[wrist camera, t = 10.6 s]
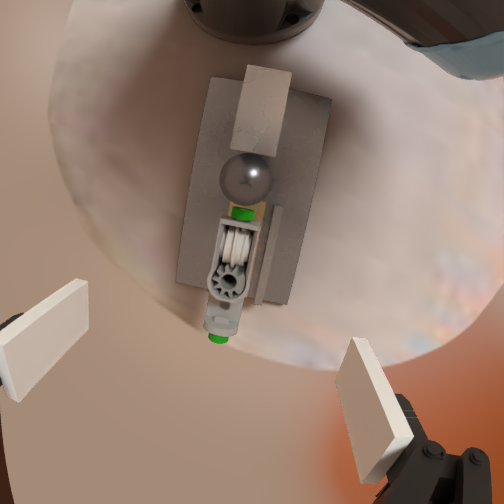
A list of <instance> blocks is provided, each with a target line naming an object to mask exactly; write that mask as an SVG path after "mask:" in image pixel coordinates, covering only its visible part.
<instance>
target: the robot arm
mask: <svg viewBox="0 0 504 504" xmlns="http://www.w3.org/2000/svg"><path fill="white" fill-rule="evenodd" d="M341 1H343V2H345V3H346V4H348V5H350V6H352V7H353V8H355V9H357V10H358V11H360V12H362V13H363V14H365V15H367V16H368V17H370V18H371V19H373V20H374V21H376V22H377V23H379V24H380V25H382V26H383V27H385V28H386V29H388V30H389V31H391V32H392V33H393V34H395V35H396V36H398V37H399V38H400V39H402V40H403V42H404V43H405V45H407V46H408V47H409V48H411V49H413V50H415V51H418V52H421V53H422V54H424V55H425V56H426V57H428V58H429V59H430V60H432V61H433V62H434V63H436V64H437V65H438V66H439V67H441V68H442V69H443V70H445V71H446V72H447V73H449V74H451V75H453V76H455V77H458V78H461V79H467V80H473V79H474V80H479V81H480V80H489V79H494V78H498V77H501V76H504V0H341ZM184 3H185V5H186V7H187V9H188V11H189V13H190V15H191V17H192V18H193V20H194V21H195V22H196V23H197V24H198V25H199V26H200V27H201V28H202V29H203V30H205V31H206V32H208V33H209V34H211V35H213V36H215V37H217V38H220V39H222V40H225V41H229V42H233V43H239V44H250V45H258V44H268V43H274V42H278V41H282V40H285V39H288V38H290V37H293V36H295V35H297V34H299V33H300V32H302V31H303V30H305V29H306V28H307V27H309V26H310V25H311V24H312V23H313V22H314V20H315V19H316V18H317V17H318V15H319V13H320V11H321V9H322V6H323V3H324V0H184ZM88 330H89V309H88V282H87V281H84V280H80V279H77V278H75V279H74V280H72V281H71V282H69V283H68V284H66V285H65V286H64V287H62V288H61V289H59V290H57V291H56V292H55V293H53V294H52V295H50V296H49V297H47V298H46V299H44V300H43V301H41V302H40V303H39V304H37V305H36V306H34V307H33V308H31V309H30V310H29V311H27V312H26V313H20V314H17V315H14V316H12V317H11V318H10V319H8V320H7V321H6V322H4V323H2V324H1V325H0V386H1V385H3V388H4V391H5V394H6V396H8V397H10V398H11V399H13V400H15V401H16V402H18V403H20V401H21V400H22V399H23V398H24V397H25V396H26V395H27V394H28V393H29V391H30V390H31V389H32V388H33V387H34V386H35V385H36V384H37V383H38V382H39V380H40V379H41V378H42V377H43V376H44V375H45V374H46V373H47V372H48V371H49V370H50V369H51V368H52V367H53V365H55V363H56V362H57V361H58V360H59V359H60V358H61V357H62V356H63V355H64V354H65V353H66V352H67V351H68V350H69V349H70V348H71V347H72V346H73V345H74V344H75V343H76V342H77V341H78V340H79V339H80V338H81V337H82V335H84V333H86V332H87V331H88ZM335 384H336V388H337V392H338V395H339V399H340V403H341V407H342V410H343V414H344V418H345V422H346V426H347V430H348V433H349V438H350V442H351V445H352V450H353V454H354V458H355V462H356V466H357V470H358V475H359V478H360V483H361V484H369V483H379V482H380V481H381V479H382V478H383V477H384V476H385V475H387V478H388V483H387V484H386V485H385V486H384V487H383V489H382V490H381V491H380V492H379V493H378V494H377V495H376V497H377V498H376V500H375V501H374V502H373V504H492V487H491V472H490V461H489V458H488V456H487V455H486V453H485V452H484V451H482V450H481V449H478V448H474V447H471V448H468V449H467V450H465V452H464V453H463V454H462V455H461V456H457V455H451V454H446V451H445V449H444V448H443V447H442V446H441V445H440V444H438V443H437V442H435V441H431V440H428V438H427V436H426V434H425V432H424V430H423V428H422V426H421V424H420V422H419V420H418V418H417V416H416V414H415V412H413V408H412V406H411V404H410V402H409V401H408V400H407V399H406V398H405V397H404V396H403V395H402V394H394V393H393V390H392V388H391V387H390V385H389V382H388V380H387V378H386V376H385V374H384V372H383V370H382V368H381V366H380V364H379V362H378V360H377V358H376V356H375V354H374V352H373V350H372V349H371V347H370V345H369V343H368V341H367V339H364V338H357V337H352V339H351V341H350V344H349V347H348V349H347V352H346V355H345V357H344V360H343V362H342V365H341V367H340V370H339V372H338V375H337V377H336V380H335ZM0 504H14V500H13V496H12V492H11V487H10V483H9V477H8V472H7V466H6V460H5V453H4V446H3V438H2V429H1V416H0Z"/></svg>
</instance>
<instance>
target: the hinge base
mask: <svg viewBox="0 0 504 504" xmlns="http://www.w3.org/2000/svg"><path fill="white" fill-rule="evenodd" d="M291 76H292V72H287V71H282V70H277V69H272V68H266V67H260V66H254V65H247V69H246V73H245V78H244V81H240V80H233V79H226V78H218V77H211V80H210V84H209V88H208V93H207V97H206V102H205V106H204V111H203V116H202V121H201V126H200V131H199V136H198V141H197V146H196V151H195V157H194V162H193V168H192V173H191V179H190V185H189V191H188V197H187V203H186V209H185V216H184V223H183V229H182V236H181V244H180V251H179V259H178V266H177V275H176V282H177V283H181V284H186V285H190V286H195V287H200V288H205V289H208V286H207V279H208V275H209V273H210V271H211V268H212V262H213V257H214V251H215V246H216V240H217V235H218V229H219V224H220V219H221V218H222V216H223V215H227V216H231V211H232V207H233V206H236V207H243V208H248V209H251V210H254V211H255V214H254V219H253V221H256V222H260V223H261V224H260V230H259V235H258V239H257V244H256V249H255V253H254V258H253V262H252V267H251V269H252V271H251V279H250V286H249V290H248V292H247V294H246V295H245V297H249V298H254V305H260V306H262V303H263V300H264V301H270V302H275V303H280V304H286V305H287V303H288V299H289V295H290V291H291V287H292V283H293V279H294V275H295V271H296V267H297V263H298V259H299V255H300V250H301V246H302V242H303V238H304V233H305V229H306V225H307V220H308V216H309V211H310V207H311V202H312V197H313V193H314V188H315V183H316V179H317V174H318V169H319V164H320V159H321V154H322V149H323V144H324V139H325V134H326V129H327V123H328V118H329V113H330V107H331V102H332V99H329V98H325V97H321V96H317V95H313V94H309V93H304V92H300V91H295V90H291V89H289V86H290V81H291Z"/></svg>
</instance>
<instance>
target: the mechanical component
mask: <svg viewBox="0 0 504 504" xmlns="http://www.w3.org/2000/svg"><path fill="white" fill-rule="evenodd" d="M254 214H255V211H254V210H251V209H248V208H243V207H236V206H233V207H232V211H231V216H227V215H223V216H222V218H221V219H220V224H219V229H218V235H217V240H216V246H215V251H214V257H213V262H212V268H211V271H210V273H209V275H208V279H207V286H208V289H209V299H208V305H207V311H206V316H205V319H204V325H203V326H204V329H205V330H206V331H207V332H209V336H208V338H209V339H210V340H211V341H212V342H215V343H220V344H222V343H226V342H227V341H228V338H229V337H230V336H233V335H235V334H236V333H237V330H238V325H239V320H240V315H241V311H242V306H243V302H244V298H245V295H246V294H247V292H248V290H249V286H250V279H251V271H252V269H251V267H252V262H253V258H254V253H255V249H256V244H257V239H258V235H259V230H260V224H261V223H260V222H256V221H253V219H254Z"/></svg>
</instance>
